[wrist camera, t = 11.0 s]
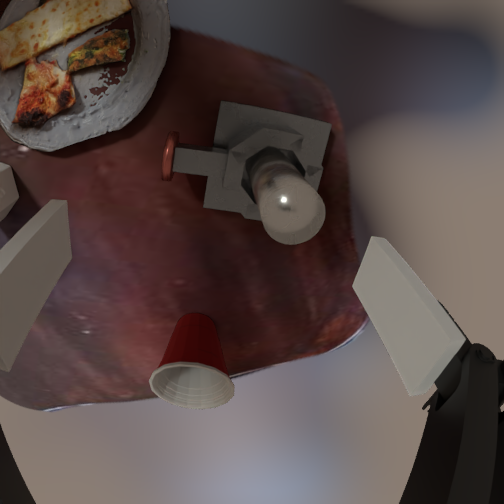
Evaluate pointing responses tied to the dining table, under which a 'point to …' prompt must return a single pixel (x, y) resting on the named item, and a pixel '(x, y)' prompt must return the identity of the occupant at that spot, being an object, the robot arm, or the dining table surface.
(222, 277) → the dining table surface
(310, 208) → the pipe stub
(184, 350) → the plastic cup
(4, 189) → the jar
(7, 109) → the food plate
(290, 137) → the valve body
